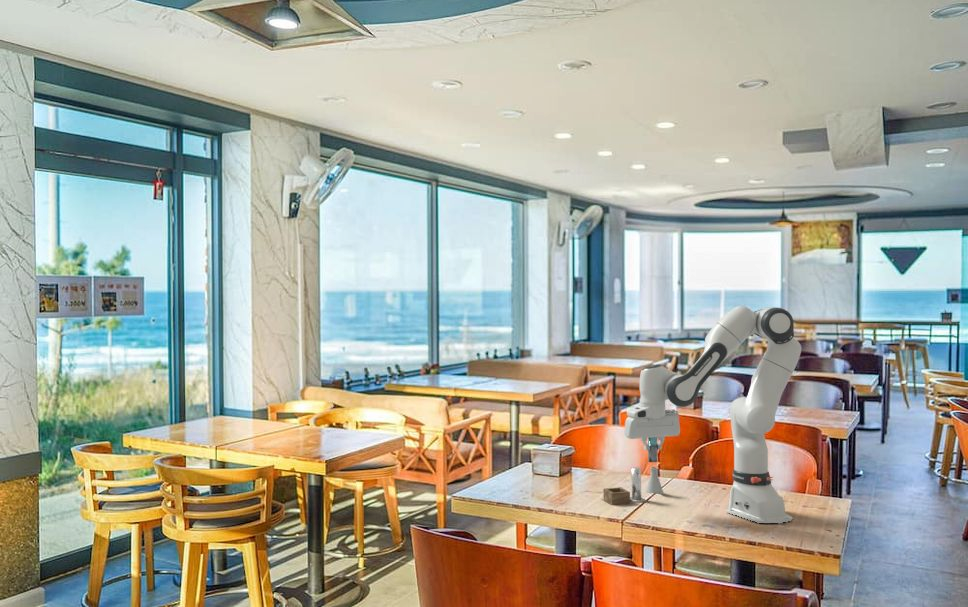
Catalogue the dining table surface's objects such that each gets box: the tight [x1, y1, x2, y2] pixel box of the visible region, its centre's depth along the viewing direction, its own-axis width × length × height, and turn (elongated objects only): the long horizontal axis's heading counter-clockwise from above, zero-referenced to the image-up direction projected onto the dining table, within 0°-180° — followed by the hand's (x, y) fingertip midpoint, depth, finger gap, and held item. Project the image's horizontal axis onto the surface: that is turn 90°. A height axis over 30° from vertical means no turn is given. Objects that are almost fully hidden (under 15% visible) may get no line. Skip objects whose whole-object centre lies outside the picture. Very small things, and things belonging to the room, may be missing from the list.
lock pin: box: [630, 467, 643, 500], centre depth 274 cm, size 3×3×11 cm
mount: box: [601, 487, 650, 506], centre depth 273 cm, size 8×15×5 cm, turn 106°
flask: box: [644, 466, 665, 496], centre depth 286 cm, size 7×7×10 cm
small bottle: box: [647, 437, 659, 463], centre depth 267 cm, size 3×3×10 cm
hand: (652, 449), depth 267 cm, fingers closed on small bottle, 3 cm apart
